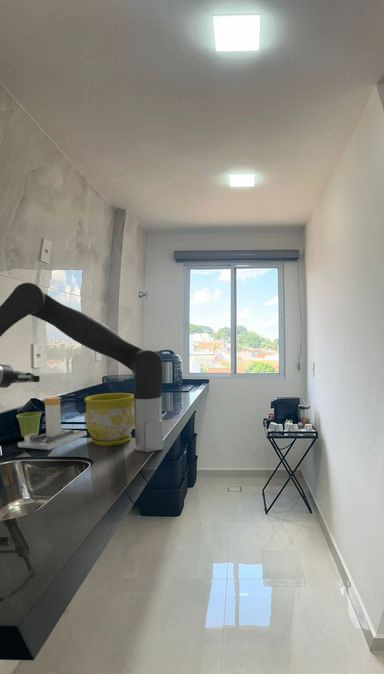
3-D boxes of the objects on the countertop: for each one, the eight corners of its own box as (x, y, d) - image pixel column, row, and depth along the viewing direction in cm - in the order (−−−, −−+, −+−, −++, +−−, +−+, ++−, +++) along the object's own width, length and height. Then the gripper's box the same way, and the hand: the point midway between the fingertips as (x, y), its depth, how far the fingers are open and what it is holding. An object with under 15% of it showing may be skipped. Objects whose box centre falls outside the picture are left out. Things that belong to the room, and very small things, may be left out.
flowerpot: (125, 448, 133) (124, 400, 133) (77, 447, 137) (75, 400, 137) (143, 435, 151) (141, 392, 151) (99, 434, 154) (97, 393, 154)
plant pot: (25, 440, 150) (24, 417, 150) (12, 437, 156) (11, 415, 156) (47, 434, 158) (46, 413, 158) (34, 432, 163) (33, 411, 163)
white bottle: (61, 435, 148) (60, 397, 148) (55, 437, 145) (54, 399, 145) (52, 434, 150) (50, 397, 150) (46, 436, 147) (44, 398, 147)
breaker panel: (86, 434, 155) (86, 425, 155) (48, 449, 135) (48, 439, 135) (58, 432, 160) (57, 424, 160) (17, 447, 140) (17, 437, 140)
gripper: (9, 362, 124) (51, 367, 139) (-18, 365, 130) (26, 369, 145) (7, 386, 123) (50, 389, 138) (-20, 388, 129) (25, 390, 144)
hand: (38, 379), depth 142 cm, fingers closed
